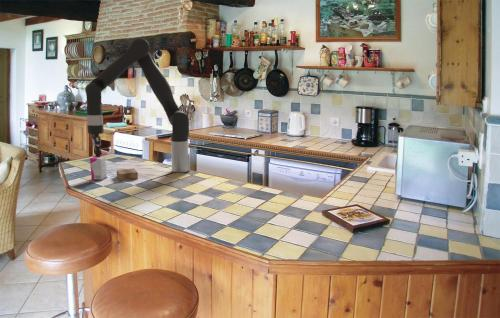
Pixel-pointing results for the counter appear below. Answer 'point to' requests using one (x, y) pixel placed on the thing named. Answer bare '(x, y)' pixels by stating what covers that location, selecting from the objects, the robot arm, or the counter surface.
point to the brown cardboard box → (127, 174)
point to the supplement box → (98, 168)
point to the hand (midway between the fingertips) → (97, 155)
